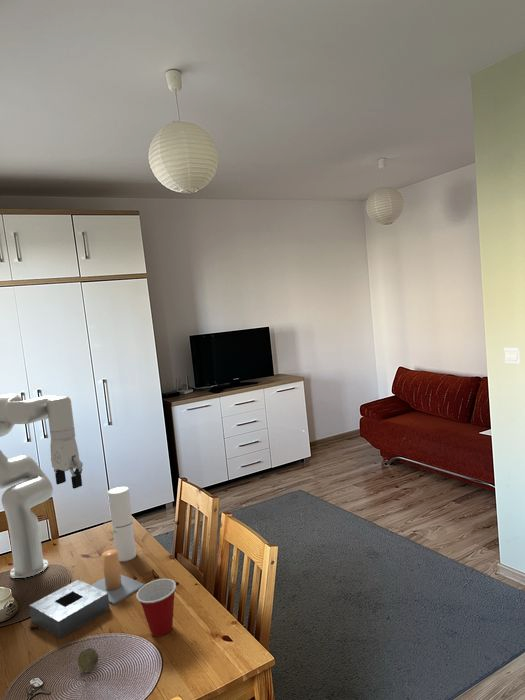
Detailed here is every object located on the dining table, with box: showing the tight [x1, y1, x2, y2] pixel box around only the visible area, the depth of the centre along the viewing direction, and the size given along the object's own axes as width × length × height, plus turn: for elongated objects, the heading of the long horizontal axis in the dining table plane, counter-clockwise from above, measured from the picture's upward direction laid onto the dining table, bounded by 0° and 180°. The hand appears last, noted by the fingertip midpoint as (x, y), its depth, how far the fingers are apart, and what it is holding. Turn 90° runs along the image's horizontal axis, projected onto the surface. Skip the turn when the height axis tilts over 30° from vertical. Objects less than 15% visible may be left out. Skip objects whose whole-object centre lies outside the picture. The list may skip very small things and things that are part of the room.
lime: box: [77, 647, 99, 673], centre depth 127 cm, size 4×5×5 cm
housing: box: [29, 579, 111, 640], centre depth 152 cm, size 16×16×5 cm
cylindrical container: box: [107, 486, 137, 562], centre depth 186 cm, size 7×7×25 cm
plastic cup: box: [136, 578, 177, 637], centre depth 140 cm, size 11×11×12 cm
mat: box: [90, 574, 145, 605], centre depth 165 cm, size 16×12×1 cm
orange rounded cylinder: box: [101, 549, 122, 590], centre depth 165 cm, size 5×5×11 cm
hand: (69, 485), depth 169 cm, fingers open, 9 cm apart
